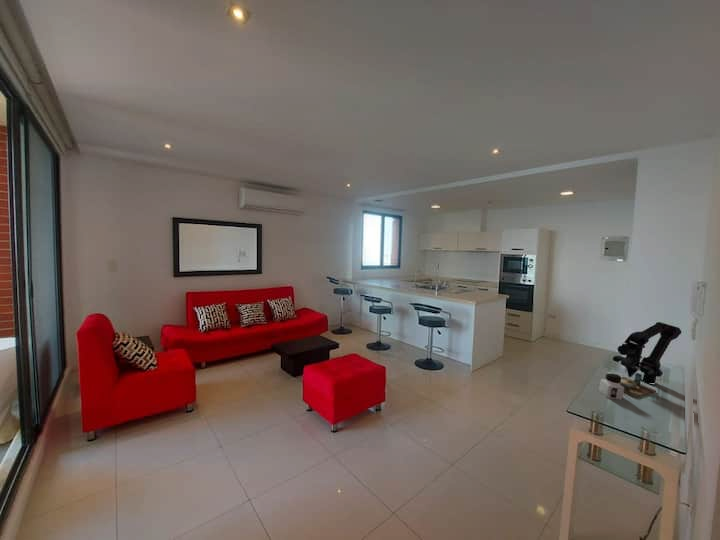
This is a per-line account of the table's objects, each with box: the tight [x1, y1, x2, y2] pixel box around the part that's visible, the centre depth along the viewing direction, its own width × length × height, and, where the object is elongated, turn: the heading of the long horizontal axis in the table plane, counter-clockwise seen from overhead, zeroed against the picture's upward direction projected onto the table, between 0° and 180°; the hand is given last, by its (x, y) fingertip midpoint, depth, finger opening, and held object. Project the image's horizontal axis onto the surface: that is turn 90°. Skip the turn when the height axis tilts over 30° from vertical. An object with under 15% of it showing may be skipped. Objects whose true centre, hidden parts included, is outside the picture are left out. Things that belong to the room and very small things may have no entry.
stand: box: [620, 376, 657, 399], centre depth 177 cm, size 20×16×6 cm
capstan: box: [621, 372, 643, 390], centre depth 178 cm, size 14×11×6 cm
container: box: [598, 372, 624, 401], centre depth 168 cm, size 8×8×13 cm
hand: (629, 377), depth 182 cm, fingers closed
